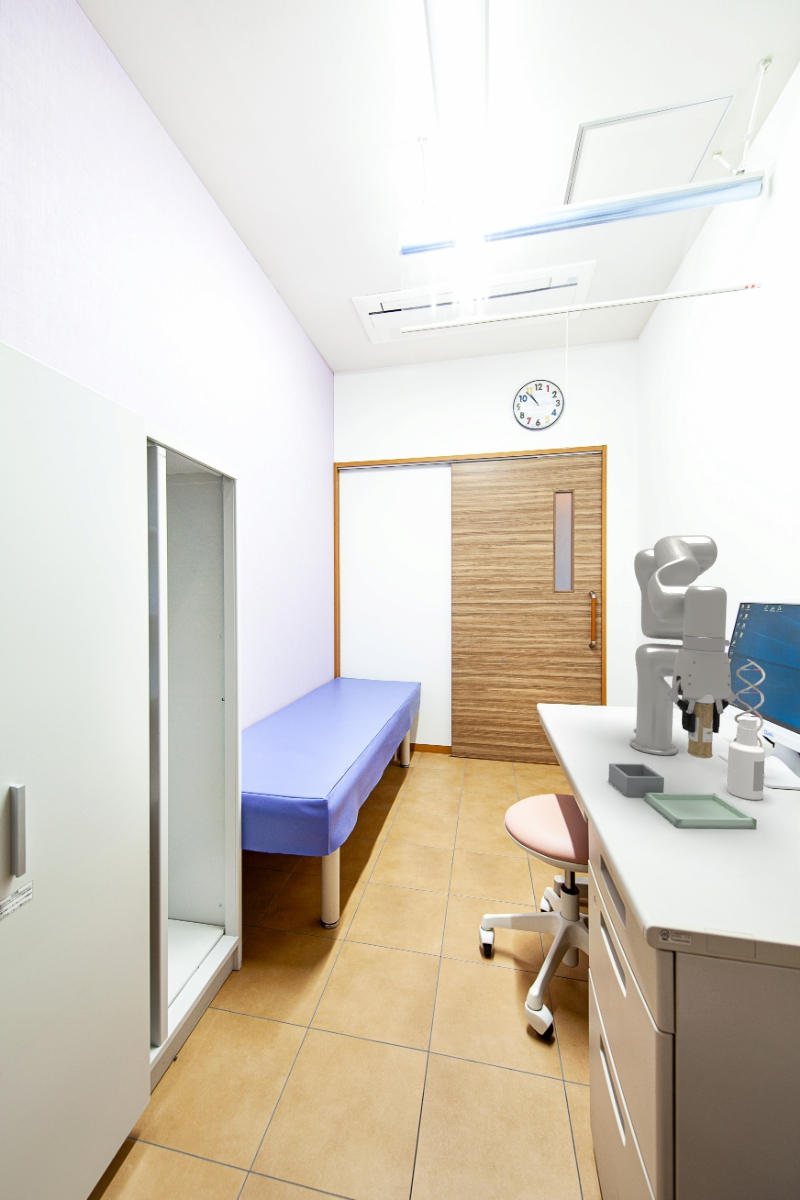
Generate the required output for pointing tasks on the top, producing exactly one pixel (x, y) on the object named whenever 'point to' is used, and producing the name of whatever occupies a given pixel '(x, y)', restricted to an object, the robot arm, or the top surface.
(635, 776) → the holder
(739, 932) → the top surface
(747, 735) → the white bottle
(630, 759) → the top surface
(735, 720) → the dna model
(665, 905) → the top surface
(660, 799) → the tray
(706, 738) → the sprinkles bottle
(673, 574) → the robot arm
